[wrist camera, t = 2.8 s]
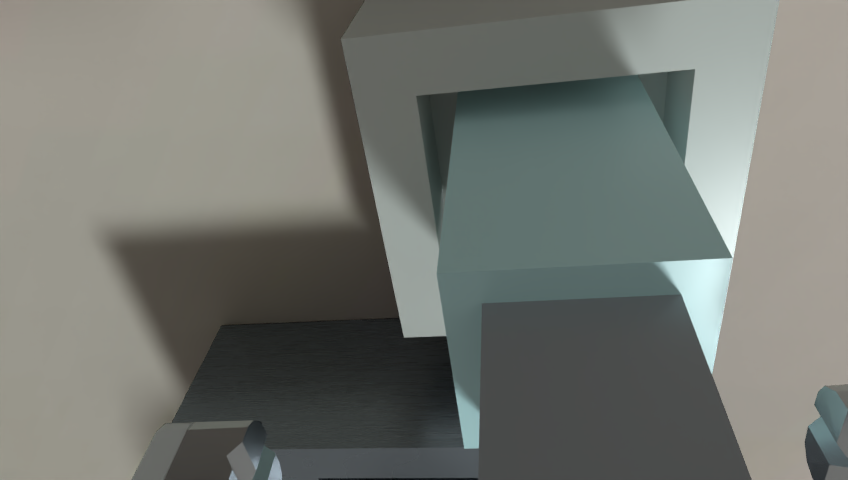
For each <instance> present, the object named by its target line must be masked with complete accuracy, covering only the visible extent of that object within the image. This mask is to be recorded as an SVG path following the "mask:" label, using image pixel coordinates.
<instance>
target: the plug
mask: <svg viewBox="0 0 848 480" xmlns="http://www.w3.org/2000/svg"><path fill="white" fill-rule="evenodd" d="M732 260H733V257H732V255H731V253H730V251H729V250H728V248H727V246H726V244H725V242H724V240H723V238H722V236H721V234H720V232H719V230H718V228H717V226H716V224H715V223H714V221H713V219H712V217H711V215H710V213H709V211H708V209H707V207H706V205H705V203H704V201H703V199H702V198H701V196H700V194H699V192H698V190H697V188H696V186H695V184H694V182H693V180H692V178H691V176H690V174H689V173H688V171H687V169H686V167H685V165H684V163H683V161H682V159H681V157H680V155H679V153H678V151H677V149H676V147H675V146H674V144H673V142H672V140H671V138H670V136H669V134H668V132H667V130H666V128H665V126H664V124H663V122H662V121H661V119H660V117H659V115H658V113H657V111H656V109H655V107H654V105H653V103H652V101H651V99H650V97H649V95H648V94H647V92H646V90H645V88H644V86H643V84H642V82H641V80H640V78H639V76H638V75H628V76H618V77H607V78H597V79H586V80H576V81H566V82H555V83H545V84H534V85H524V86H514V87H503V88H493V89H482V90H472V91H462V92H458V95H457V103H456V112H455V120H454V129H453V137H452V146H451V154H450V163H449V171H448V180H447V188H446V197H445V205H444V214H443V222H442V231H441V239H440V248H439V256H438V265H437V280H438V286H439V292H440V299H441V305H442V311H443V318H444V324H445V330H446V337H447V343H448V349H449V356H450V362H451V368H452V374H453V381H454V387H455V393H456V400H457V406H458V412H459V419H460V425H461V431H462V438H463V444H464V449H473V448H479V466H478V480H751V477H750V474H749V472H748V469H747V466H746V464H745V461H744V458H743V456H742V453H741V451H740V448H739V445H738V443H737V440H736V437H735V435H734V432H733V429H732V427H731V424H730V421H729V419H728V416H727V414H726V411H725V408H724V406H723V403H722V400H721V398H720V395H719V392H718V390H717V387H716V384H715V382H714V379H713V377H712V372H713V367H714V361H715V355H716V350H717V344H718V339H719V333H720V327H721V322H722V316H723V311H724V305H725V299H726V294H727V288H728V283H729V277H730V271H731V266H732Z"/></svg>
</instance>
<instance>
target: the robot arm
mask: <svg viewBox="0 0 848 480" xmlns="http://www.w3.org/2000/svg"><path fill="white" fill-rule="evenodd" d="M814 405H815V407H816V408H817V410H818V412H819V414H820V415H821V417H820V418H818V419H817V420H816V421H814V422H813V423H812V424H811V425H809V426H808V430H807V435H806V439H805V449H806V458H807V463H808V466H809V469H810V472H811V475H812V478H813V480H848V384H845V385H831V386H824V387H823V388H822V389H821V390H820V391H819V392H818V394H817V398H816V401H815V404H814ZM266 438H267V433H266V431H265V429H264V427H263V425H262V423H261V421H257V420H247V421H214V422H191V423H167V424H164V425H163V426H162V427H161V428H160V429H159V430H157V432H156V433H155V435H154V437H153V439H152V441H151V443H150V445H149V447H148V449H147V451H146V452H145V454H144V456H143V458H142V460H141V462H140V464H139V466H138V468H137V470H136V472H135V474H134V476H133V478H132V480H282V472H281V467H280V462H279V460H278V457H277V455H276V453H275V452H273V451H272V450H270V449H269V448H267V447H266V446H264V444H265V441H266Z"/></svg>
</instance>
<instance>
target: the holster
mask: <svg viewBox="0 0 848 480" xmlns="http://www.w3.org/2000/svg"><path fill="white" fill-rule="evenodd" d="M778 5H779V0H365V1H364V3H363V4H362V6H361V8H360V9H359V11H358V12H357V14H356V16H355V17H354V19H353V20H352V22H351V24H350V25H349V27H348V28H347V30H346V32H345V33H344V35H343V36H342V38H341V42H342V47H343V52H344V57H345V61H346V66H347V71H348V75H349V80H350V85H351V90H352V94H353V99H354V104H355V109H356V113H357V118H358V123H359V127H360V132H361V137H362V142H363V146H364V151H365V156H366V161H367V165H368V170H369V175H370V179H371V184H372V189H373V194H374V198H375V203H376V208H377V213H378V217H379V222H380V227H381V231H382V236H383V241H384V246H385V250H386V255H387V260H388V265H389V269H390V274H391V279H392V283H393V288H394V293H395V298H396V302H397V307H398V312H399V317H400V321H401V326H402V331H403V336H404V338H405V337H432V336H446V330H445V324H444V318H443V311H442V305H441V299H440V292H439V286H438V280H437V265H438V256H439V248H440V239H441V231H442V222H443V214H444V205H445V197H446V188H447V180H448V171H449V163H450V154H451V146H452V137H453V129H454V120H455V112H456V103H457V95H458V92H462V91H472V90H482V89H493V88H503V87H514V86H524V85H534V84H545V83H555V82H566V81H576V80H586V79H597V78H607V77H618V76H628V75H638V76H639V78H640V80H641V82H642V84H643V86H644V88H645V90H646V92H647V94H648V95H649V97H650V99H651V101H652V103H653V105H654V107H655V109H656V111H657V113H658V115H659V117H660V119H661V121H662V122H663V124H664V126H665V128H666V130H667V132H668V134H669V136H670V138H671V140H672V142H673V144H674V146H675V147H676V149H677V151H678V153H679V155H680V157H681V159H682V161H683V163H684V165H685V167H686V169H687V171H688V173H689V174H690V176H691V178H692V180H693V182H694V184H695V186H696V188H697V190H698V192H699V194H700V196H701V198H702V199H703V201H704V203H705V205H706V207H707V209H708V211H709V213H710V215H711V217H712V219H713V221H714V223H715V224H716V226H717V228H718V230H719V232H720V234H721V236H722V238H723V240H724V242H725V244H726V246H727V248H728V250H729V251H730V253H731V255H732V257H734V251H735V245H736V240H737V234H738V229H739V223H740V217H741V212H742V206H743V201H744V195H745V190H746V184H747V178H748V173H749V167H750V162H751V156H752V150H753V145H754V139H755V134H756V128H757V122H758V117H759V111H760V106H761V100H762V95H763V89H764V83H765V78H766V72H767V67H768V61H769V55H770V50H771V44H772V39H773V33H774V28H775V22H776V16H777V11H778ZM732 262H733V260H732ZM731 268H732V266H731ZM730 273H731V271H730ZM729 279H730V277H729ZM728 284H729V283H728ZM727 290H728V288H727ZM726 296H727V294H726ZM725 301H726V299H725ZM724 307H725V305H724ZM723 312H724V311H723ZM722 318H723V316H722ZM721 324H722V322H721Z"/></svg>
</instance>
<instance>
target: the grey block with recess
mask: <svg viewBox="0 0 848 480" xmlns="http://www.w3.org/2000/svg"><path fill="white" fill-rule="evenodd" d="M247 420H257V421H261V423H262V425H263V427H264V429H265V431H266V433H267V438H266V441H265V444H264V446H266V447H267V448H269V449H270V450H272V451H273V452H275V453H276V455H277V457H278V460H279V462H280V467H281V472H282V480H478V466H479V448H473V449H464V444H463V438H462V431H461V425H460V419H459V412H458V406H457V400H456V393H455V387H454V381H453V374H452V368H451V362H450V356H449V349H448V343H447V337H446V336H432V337H405V338H404V336H403V331H402V326H401V321H400V318H395V319H371V320H347V321H323V322H299V323H275V324H251V325H228V326H221V327H220V329H219V331H218V333H217V335H216V337H215V339H214V341H213V343H212V345H211V347H210V349H209V351H208V353H207V355H206V357H205V359H204V361H203V363H202V365H201V367H200V368H199V370H198V372H197V374H196V376H195V378H194V380H193V382H192V384H191V386H190V388H189V390H188V392H187V394H186V396H185V398H184V400H183V402H182V404H181V406H180V408H179V410H178V412H177V413H176V415H175V417H174V419H173V421H172V423H191V422H214V421H247Z"/></svg>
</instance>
